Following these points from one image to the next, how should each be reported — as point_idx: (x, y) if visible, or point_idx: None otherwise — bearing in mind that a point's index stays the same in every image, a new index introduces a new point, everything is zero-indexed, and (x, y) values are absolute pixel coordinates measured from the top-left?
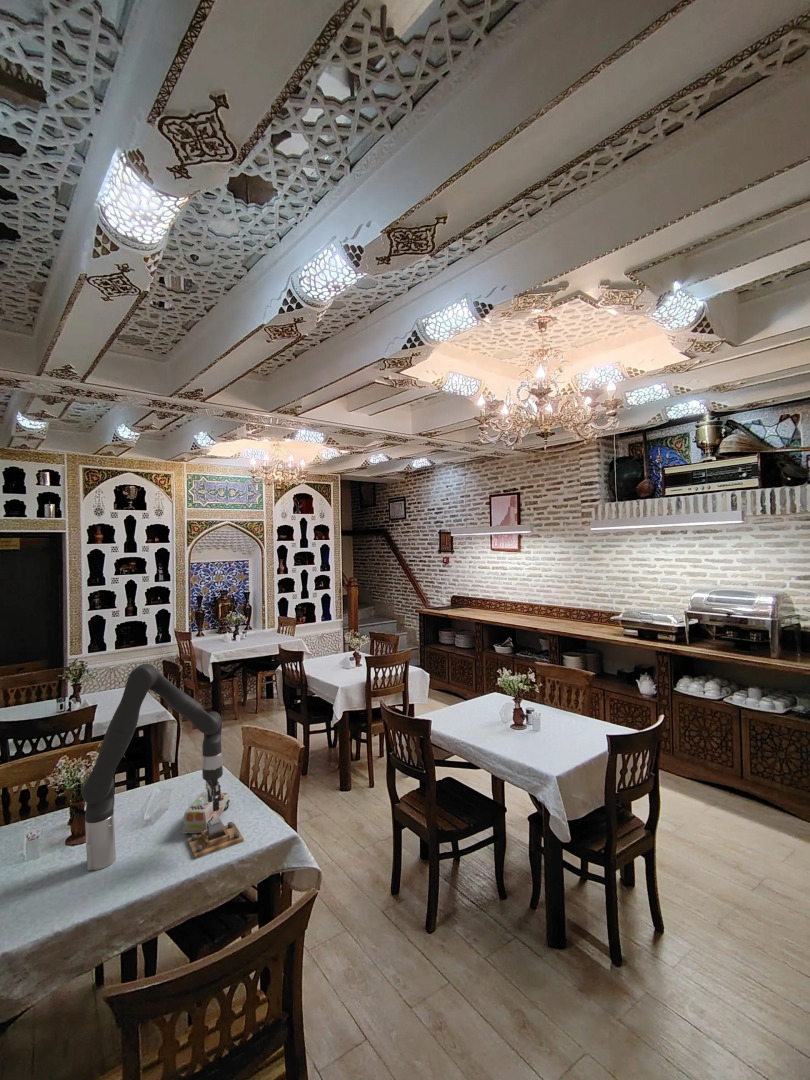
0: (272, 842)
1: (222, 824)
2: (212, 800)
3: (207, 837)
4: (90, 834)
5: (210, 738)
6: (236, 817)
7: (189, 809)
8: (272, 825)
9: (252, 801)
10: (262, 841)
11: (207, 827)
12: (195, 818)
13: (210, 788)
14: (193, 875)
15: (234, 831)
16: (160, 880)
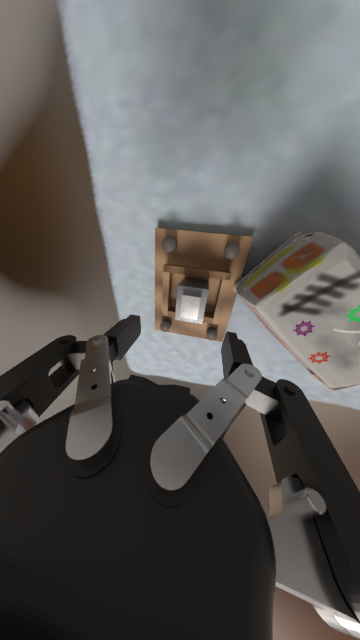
0: None
1: (217, 322)
2: (98, 339)
3: (207, 280)
4: None
5: None
6: None
7: (341, 265)
8: (170, 371)
9: None
10: (137, 343)
11: (201, 286)
12: (276, 273)
13: (77, 408)
14: (98, 203)
15: (189, 329)
16: (116, 96)
